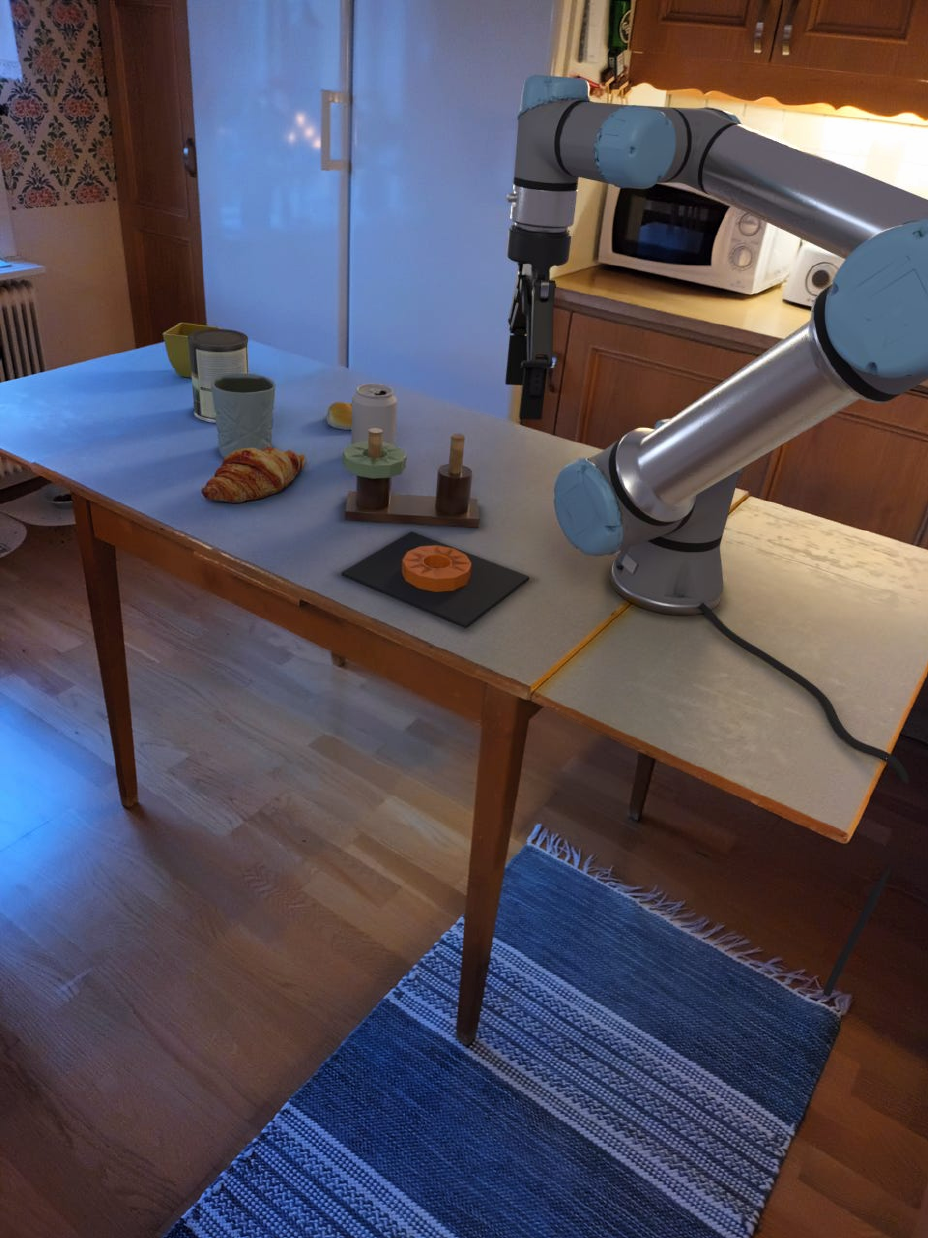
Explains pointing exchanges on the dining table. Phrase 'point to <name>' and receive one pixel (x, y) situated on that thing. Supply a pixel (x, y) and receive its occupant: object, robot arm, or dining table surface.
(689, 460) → the robot arm
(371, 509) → the peg rack
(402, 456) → the green disc
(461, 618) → the mat
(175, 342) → the flower pot
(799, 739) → the dining table surface
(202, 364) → the coffee can
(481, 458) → the dining table surface
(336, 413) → the bread roll
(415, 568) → the orange disc
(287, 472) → the croissant
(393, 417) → the can
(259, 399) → the grey embossed cup
